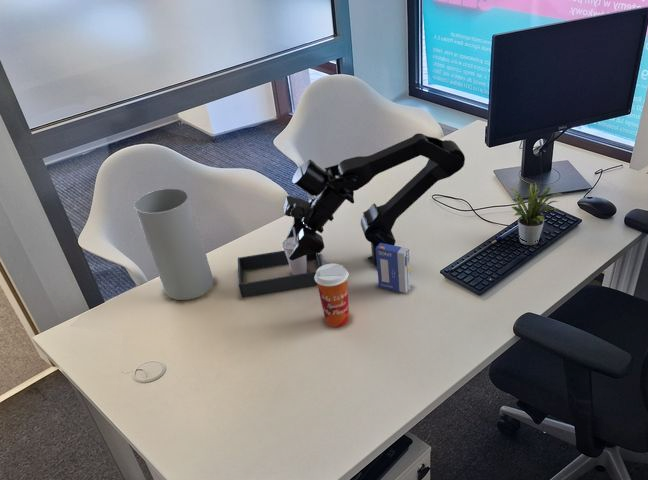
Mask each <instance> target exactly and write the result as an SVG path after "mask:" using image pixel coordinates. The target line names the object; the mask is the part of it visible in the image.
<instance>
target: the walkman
mask: <svg viewBox="0 0 648 480" xmlns="http://www.w3.org/2000/svg"><path fill="white" fill-rule="evenodd" d="M376 260H377V267H376V270H377V281H378V288H381V289H385V290H389V291H394V292H397V293H403V294H407V292H408V291H410V289H411V288H412V285H411V284H412V282H411V264H410V248H409V247H405V246H399V245H389V244H384V243H380V244H379V245H378V246H377V247H376Z"/></svg>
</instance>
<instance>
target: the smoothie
mask: <svg viewBox="0 0 648 480" xmlns="http://www.w3.org/2000/svg"><path fill="white" fill-rule="evenodd" d="M292 229H293V234H294V237H290V238H288V239H286V238H285V239H284V240H283V241H282V243H281V248H282V251H285V254H286V257H287V260H288V262H289V264H288V265H289V268H290V271H291V274H292V275H297V274H303V273H308V267H307V263H308V262H307V261H306V255H305V256H302V257H300V258H297V259H295V260H290V259H289V257H290V255H291V253H292V251H293V250H294V248H295V246H296V245H297V243H298V238H297V237H296V233H295V227H293V228H292Z"/></svg>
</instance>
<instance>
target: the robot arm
mask: <svg viewBox="0 0 648 480" xmlns="http://www.w3.org/2000/svg"><path fill="white" fill-rule="evenodd" d="M420 156H422V157H425V158H426V159H428V160H427V162H426V164H425V165H424V167H423V168H422V169H421V170H419V171H418V173H416V175H414V176H413V177H412V178H411V179H410V180H408V182H407V183H405V185H404V186H402V188H400V189H399V190H398V191H397V192H396V193H395V194H394V195H393V196H392V197H391V198H390V199H388V201H386V202H385V203H384V204H382V205H379V206H377V204H376V203H375V202H374V203H372V204H371V206H370V207H369V208H368V209H367V210H364V211H363V212H362V217H361V218H360V227H361V229H362V232H363V235H364V238H365V240H366V241H367V242H369V243H370V247H371V248H370V249H371V256H368V257H367V261H369V262H370V263H371V264H372V265H373V266H375V267H376V268H377V260H376V247H377V246H378V245H379V244H380V243H384V244H389V245H394V246H396V241H397V240H396V238H395V236H394V234H393V228H394V226H395V223H396V221H397V219H398V218H400V217H401V215H403V214H404V213H405V212H406V211H407V210H408V209H409V208H410V207H411V206H413V205H414V204H415V202H417V201H418V200H419V199H420V198H421V197H422V196H423V195H424V194H425V193H427V192H428V191H429V190H430V189H431V188H432V187H433V186H434V185H435V184H436V183H437V182H439V181H441V180H445V179H448V178H451V177H452V176H454V175H455V174H456V173H458V172H459V171H461V170H462V169H463V168H464V166H465V161H466V156H465V154H464V152H463V151H462V150H461V148H460V146H458V144H457V143H456V142H455V141H453V140H450V139H449V140H447V139H445V140H443V139H440V138H438V137H435V136H428V135H425V134H423V133H419V132H418V133H415V134H413V136H411V137H409V138H407V139H404V140H402V141H399V142H398V143H395V144H393V145H391V146H389V147H388V146H387V147H386V148H384V149H381V150H379V151H377V152H375V153H373V154H370V155H365V156H361V155H360V156H354V157H350V158H346V159H344V160H341V161H340V162H339V163H338V164H335V165H334V164H333V165H330V166H327V167H324V169H323V168H321V167H320V166H318V165H317V164H316V163H315V161H313V160H312V159H309V160H307V162H304V163H302V164H301V165H299V166H298V167H297V169H296V170H295V172H294V174H293V177H292V183H293V184H294V185H295V186H297V187H298V188H299V189H301V190H303V191H304V192H306V193H307V194H309V195H310V196H312V198H310V199H309V200H308V201H307V200H304V199H303V198H298V197H295V196H291V195H287V196H286V198H285V201H284V204H283V207H282V208H283V214H284V216H287V217H291V218H293V221H292V223H291V225H290V229H289V231H288V233H287V236H286V238H285V240H286V239H288V238H290V237H294V234H293V229H292V228H293V227H295V233H296V237H297V238H298V243H297V245H296V246H295V248H294V250H293V251H292V253H291V255H290V257H289V259H290V260H295V259H297V258H300V257H302V256H305V255H307V254H310V253H313V252H315V253H318V254H321V252H323V250H324V249H325V242H324V239H323V236H322V235H320V234H323V232H324V230H325V229H324V226H325V225H326V224H327V223H328V222H329V221H330V222H332V221H333V220H334V218H335V217H334V214H335V213H336V212H337V211H338V210H339V208H340V207H341V206H342V205H343V203H344V202H345V201H346V200H347V201H348V202H349V203H351V204H355V198H354V195H355V192H356V191H358V190H359V189H360V190H361V188H363V187H364V186H366V185H368V184H369V183H370V182H371V181H372V179H374V177H376V176H377V175H379V174H381V173H384V172H386V171H388V170H390V169H392V168H394V167H397V166H400V165H402V164H404V163H407V162H408V161H411V160H413V159H416V158H417V157H420ZM314 196H315V197H316V198H315V197H314ZM317 232H318V233H317ZM319 233H320V234H319Z"/></svg>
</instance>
